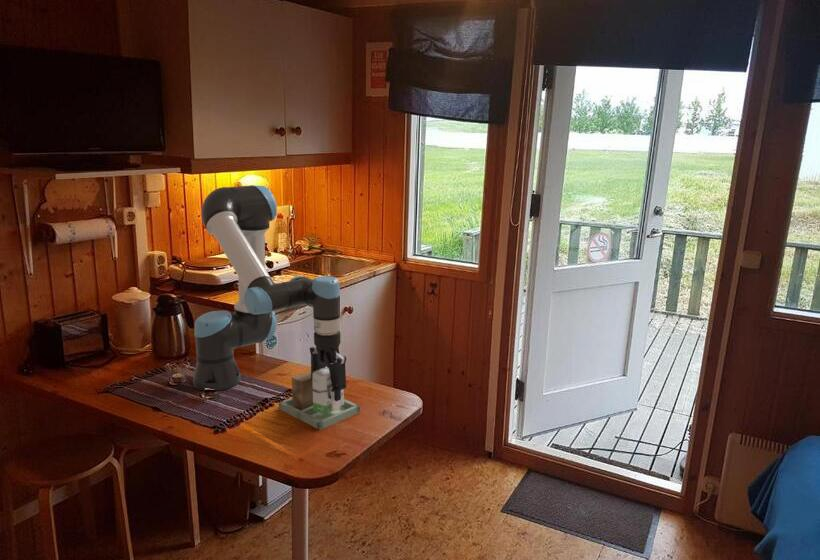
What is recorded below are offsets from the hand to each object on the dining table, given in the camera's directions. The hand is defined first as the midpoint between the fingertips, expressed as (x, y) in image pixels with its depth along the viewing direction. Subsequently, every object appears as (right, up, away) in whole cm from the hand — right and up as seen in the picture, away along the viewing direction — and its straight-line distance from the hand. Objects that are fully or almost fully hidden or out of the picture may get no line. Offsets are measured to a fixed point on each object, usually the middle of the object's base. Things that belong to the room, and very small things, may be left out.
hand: (328, 406), depth 176 cm
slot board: (-3, -3, +4) cm, 6 cm away
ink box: (0, -1, 0) cm, 1 cm away
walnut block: (-7, -1, +6) cm, 9 cm away
